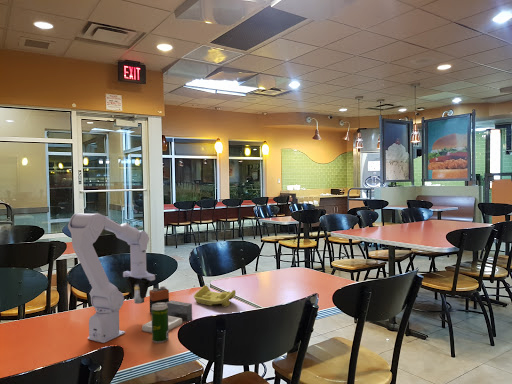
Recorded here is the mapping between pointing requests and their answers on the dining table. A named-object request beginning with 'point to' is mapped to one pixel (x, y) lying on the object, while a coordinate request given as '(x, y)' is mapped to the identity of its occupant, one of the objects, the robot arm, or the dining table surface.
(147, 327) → the tray
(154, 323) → the beer can
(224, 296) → the plastic component
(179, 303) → the block
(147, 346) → the dining table surface
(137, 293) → the silver cylindrical container
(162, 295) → the battery
